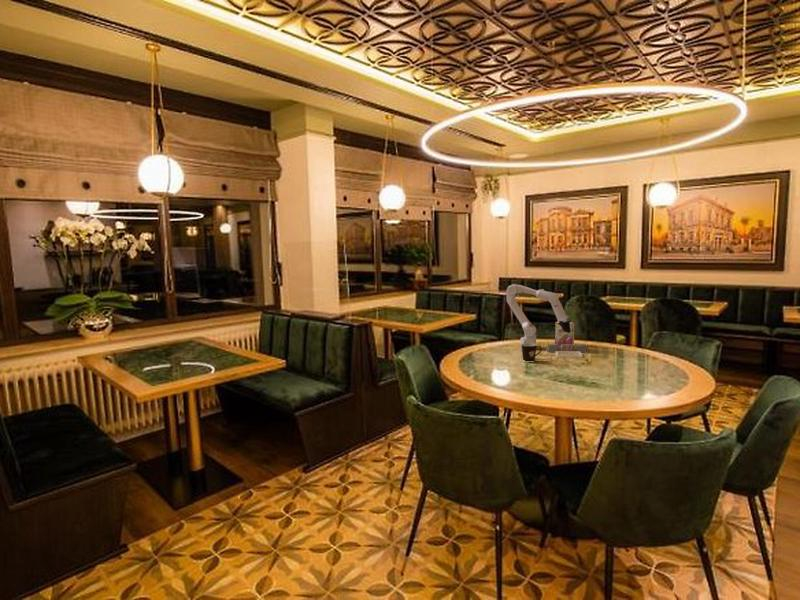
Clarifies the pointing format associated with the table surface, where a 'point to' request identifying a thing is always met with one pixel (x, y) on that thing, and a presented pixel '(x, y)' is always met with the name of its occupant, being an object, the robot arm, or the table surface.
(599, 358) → the table surface
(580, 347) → the outer fuse
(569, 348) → the marked fuse
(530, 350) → the coffee mug
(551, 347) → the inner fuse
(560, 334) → the candy bar box
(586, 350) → the fuse board
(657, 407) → the table surface
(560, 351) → the parts tray
